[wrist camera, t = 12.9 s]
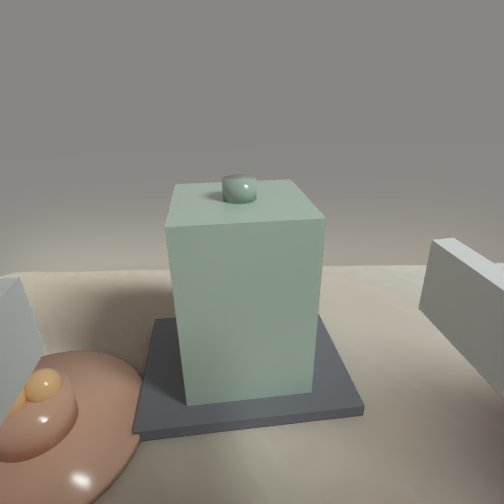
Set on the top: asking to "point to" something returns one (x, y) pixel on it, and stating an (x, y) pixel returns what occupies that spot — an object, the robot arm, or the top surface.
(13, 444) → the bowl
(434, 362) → the top surface
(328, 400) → the mat
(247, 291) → the cover
